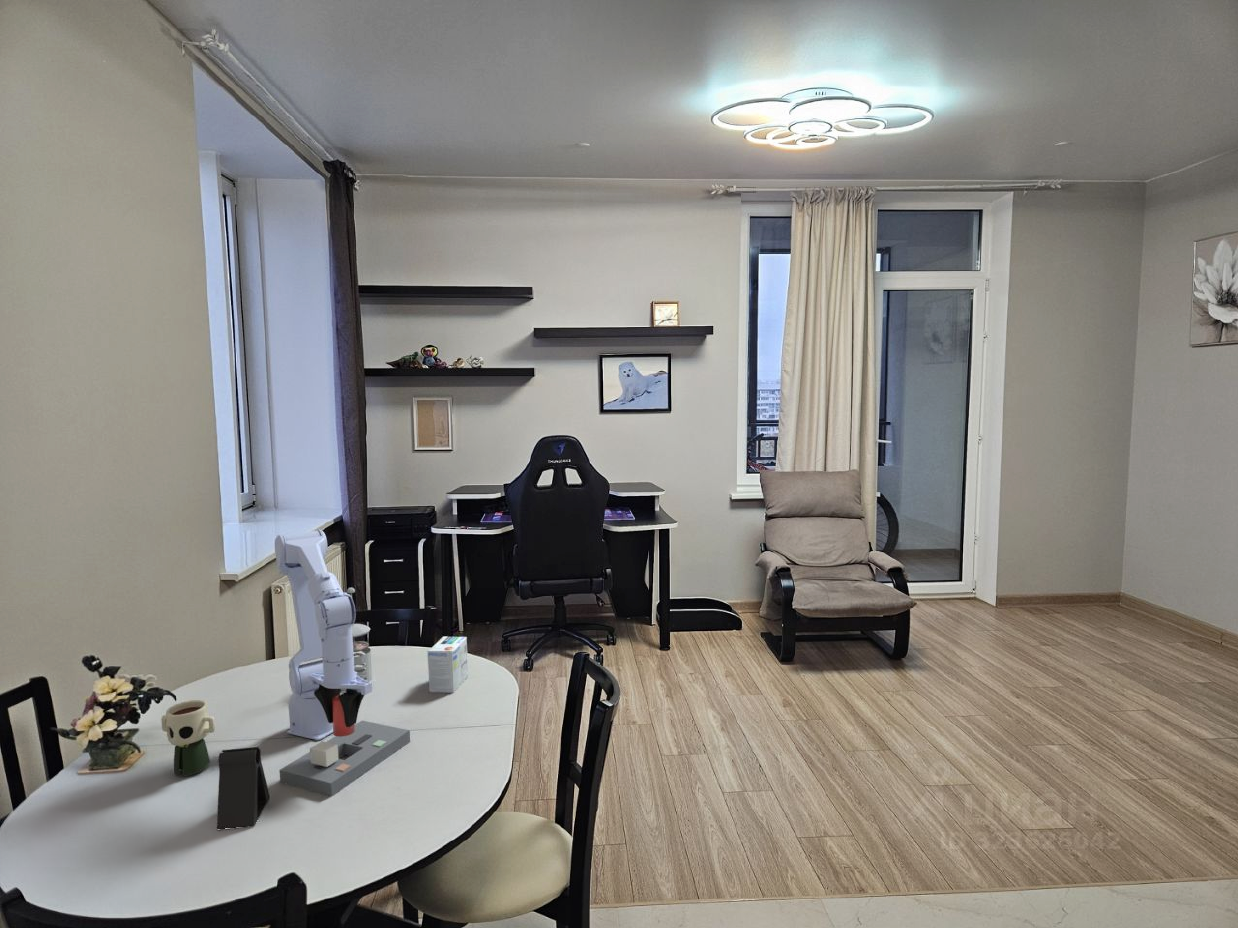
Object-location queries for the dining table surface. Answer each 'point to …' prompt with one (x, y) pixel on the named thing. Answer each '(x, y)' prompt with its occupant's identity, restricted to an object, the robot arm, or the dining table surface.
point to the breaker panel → (363, 749)
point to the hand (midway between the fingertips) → (342, 722)
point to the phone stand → (241, 788)
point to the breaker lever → (324, 753)
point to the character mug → (188, 735)
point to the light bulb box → (447, 664)
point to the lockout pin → (340, 720)
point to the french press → (362, 646)
